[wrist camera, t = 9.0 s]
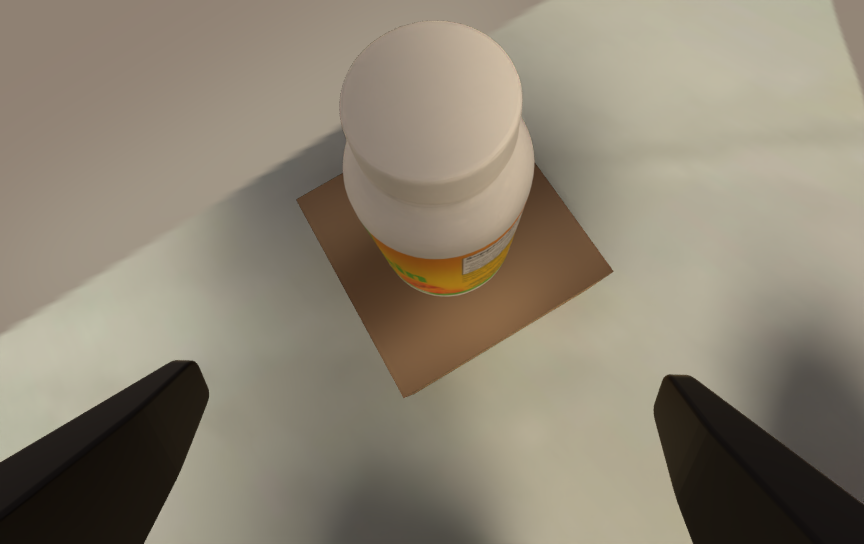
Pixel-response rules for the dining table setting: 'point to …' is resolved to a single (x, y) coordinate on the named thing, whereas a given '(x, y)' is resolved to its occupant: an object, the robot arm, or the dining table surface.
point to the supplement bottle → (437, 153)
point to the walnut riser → (463, 314)
